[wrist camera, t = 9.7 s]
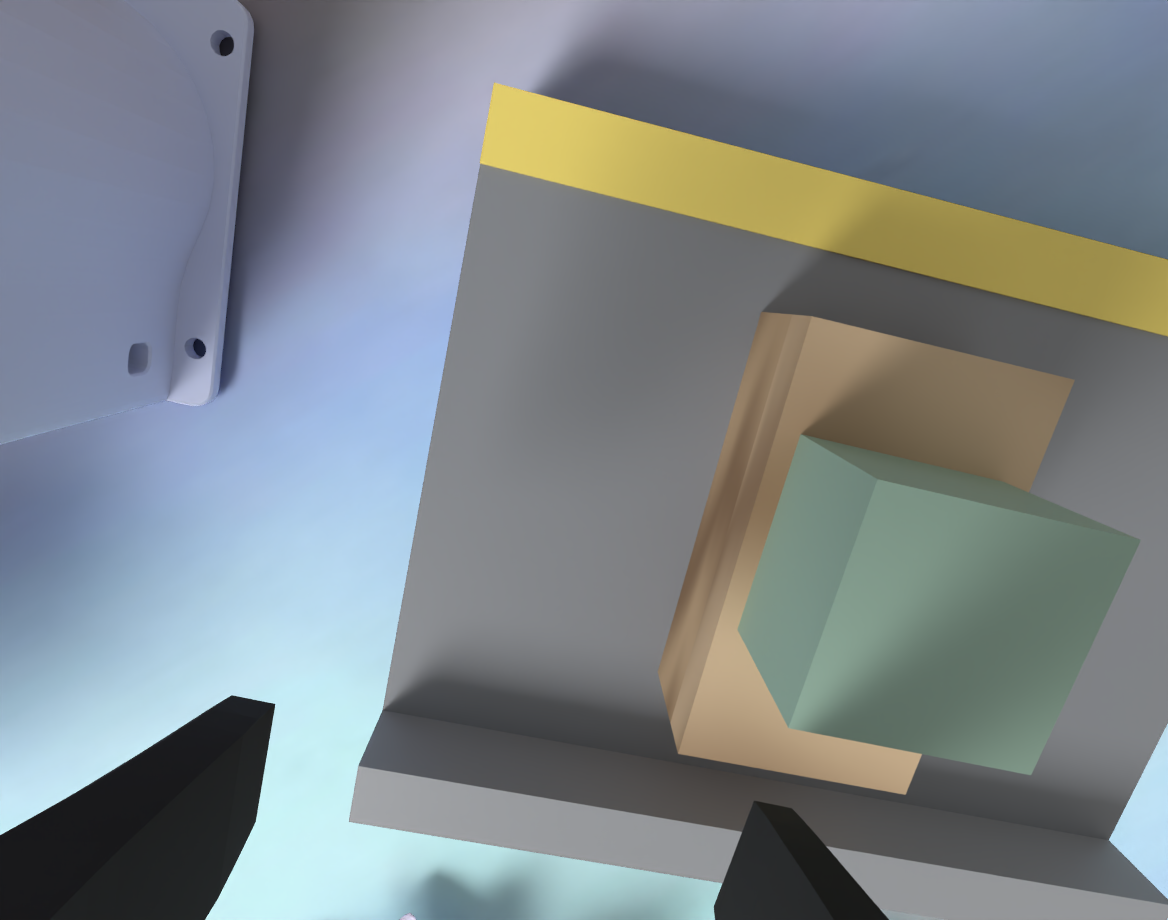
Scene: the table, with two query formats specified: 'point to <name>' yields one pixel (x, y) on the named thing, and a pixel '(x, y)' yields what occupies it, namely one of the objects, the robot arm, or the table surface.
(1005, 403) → the pallet
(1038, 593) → the green block
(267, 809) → the table surface
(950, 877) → the dock
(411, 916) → the water lily
